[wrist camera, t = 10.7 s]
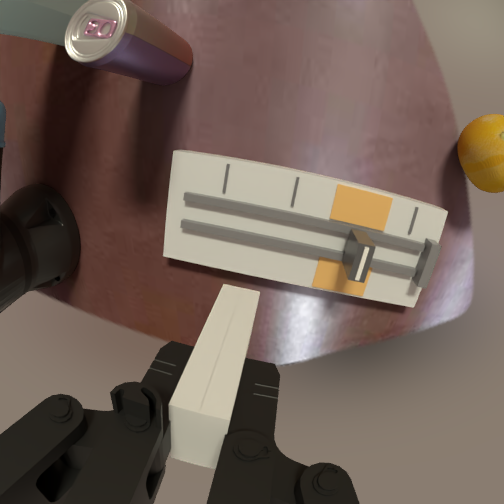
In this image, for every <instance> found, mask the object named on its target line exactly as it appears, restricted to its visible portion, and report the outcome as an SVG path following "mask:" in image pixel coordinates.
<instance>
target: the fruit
mask: <svg viewBox="0 0 504 504" xmlns="http://www.w3.org/2000/svg"><path fill="white" fill-rule="evenodd" d="M458 157H459V161H460V164H461V166H462V168H463V170H464V172H465V174H466V175H467V177H468V178H469V180H470V181H471V182H472V183H473V184H474V185H475V186H476V187H477V188H479V189H481V190H483V191H486V192H491V193H498V192H503V191H504V116H503V115H499V114H489V115H484V116H481V117H479V118H477V119H475V120H473V121H472V122H471V123H469V124H468V125H467V126H466V127H465V128H464V130H463V131H462V133H461V135H460V137H459V140H458Z"/></svg>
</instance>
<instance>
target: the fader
mask: <svg viewBox="0 0 504 504" xmlns="http://www.w3.org/2000/svg"><path fill="white" fill-rule="evenodd" d="M375 248H376V246H375V245H374V243H373V242H372V240H371V239H370V237H369V236H368V234H367V233H366V232H364V231H360V230H356V229H351V230H350V234H349V237H348V240H347V243H346V247H345V252H344V255H343V259H342V263H343V266H344V269H345V272H346V275H347V279H348V280H351V281H356V282H361V283H364V282H365V279H366V276H367V273H368V270H369V267H370V264H371V261H372V258H373V254H374V251H375Z"/></svg>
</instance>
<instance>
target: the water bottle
mask: <svg viewBox="0 0 504 504" xmlns="http://www.w3.org/2000/svg"><path fill="white" fill-rule="evenodd" d="M87 1H89V0H0V34H7V35H13V36H19V37H24V38H29V39H34V40H39V41H44V42H48V43H53V44H57V45H61V46H65V43H64V39H65V32H66V29H67V26H68V24H69V22H70V20H71V18H72V16H73V15H74V14H75V12H76V11H77V10H78V9H79V8H80V7H81V6H82V5H83V4H84V3H86V2H87Z"/></svg>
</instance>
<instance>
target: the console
mask: <svg viewBox="0 0 504 504" xmlns="http://www.w3.org/2000/svg"><path fill="white" fill-rule="evenodd" d="M447 214H448V211H446V210H444V209H443V208H441V207H438V206H435V205H432V204H428V203H425V202H422V201H419V200H415V199H412V198H409V197H405V196H402V195H398V194H395V193H391V192H387V191H384V190H380V189H376V188H373V187H369V186H365V185H361V184H357V183H353V182H349V181H345V180H341V179H337V178H333V177H328V176H324V175H320V174H315V173H311V172H306V171H302V170H297V169H292V168H287V167H282V166H277V165H272V164H267V163H262V162H256V161H251V160H245V159H239V158H233V157H227V156H221V155H215V154H208V153H201V152H194V151H187V150H174V151H173V159H172V167H171V175H170V184H169V194H168V204H167V215H166V226H165V239H164V254H163V256H165V257H169V258H174V259H178V260H182V261H187V262H191V263H196V264H200V265H205V266H209V267H214V268H219V269H223V270H228V271H232V272H237V273H242V274H246V275H251V276H256V277H261V278H265V279H270V280H275V281H280V282H285V283H289V284H294V285H299V286H304V287H309V288H314V289H319V290H324V291H329V292H334V293H339V294H344V295H350V296H355V297H360V298H365V299H370V300H376V301H381V302H386V303H392V304H397V305H403V306H408V307H414V306H415V303H416V301H417V299H418V296H419V294H420V291H421V289H422V288H426V287H427V285H428V282H429V280H430V277H431V275H432V272H433V269H434V267H435V264H436V261H437V258H438V256H439V253H440V250H441V247H442V246H441V245H439V244H438V243H439V240H440V236H441V233H442V230H443V227H444V224H445V221H446V217H447ZM351 229H356V230H360V231H364V232H366V233H367V234H368V236H369V237H370V239H371V240H372V242H373V243H374V245H375V246H376V248H375V251H374V254H373V258H372V261H371V264H370V267H369V270H368V273H367V276H366V279H365V282H364V283H361V282H356V281H351V280H348V279H347V275H346V272H345V269H344V266H343V263H342V259H343V255H344V252H345V247H346V243H347V240H348V237H349V234H350V230H351Z"/></svg>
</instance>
